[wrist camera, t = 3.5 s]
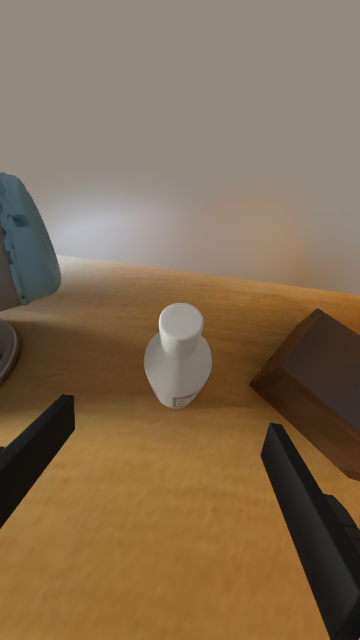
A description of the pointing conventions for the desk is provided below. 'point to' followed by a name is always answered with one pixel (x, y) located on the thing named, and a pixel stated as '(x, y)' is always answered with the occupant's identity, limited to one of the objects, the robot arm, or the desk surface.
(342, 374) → the stepped brown block
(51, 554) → the desk surface
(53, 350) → the desk surface
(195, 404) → the desk surface
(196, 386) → the bath foam
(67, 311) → the desk surface
